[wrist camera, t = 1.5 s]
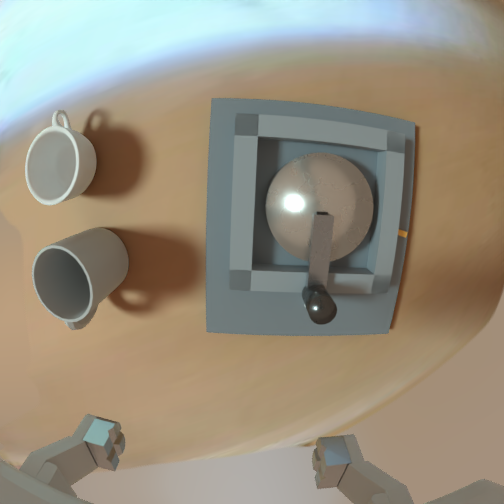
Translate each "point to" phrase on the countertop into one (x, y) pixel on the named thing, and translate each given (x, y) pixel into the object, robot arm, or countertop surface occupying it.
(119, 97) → the countertop surface
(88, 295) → the cup
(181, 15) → the countertop surface
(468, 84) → the countertop surface
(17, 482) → the robot arm
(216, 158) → the panel
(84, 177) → the teacup
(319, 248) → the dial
